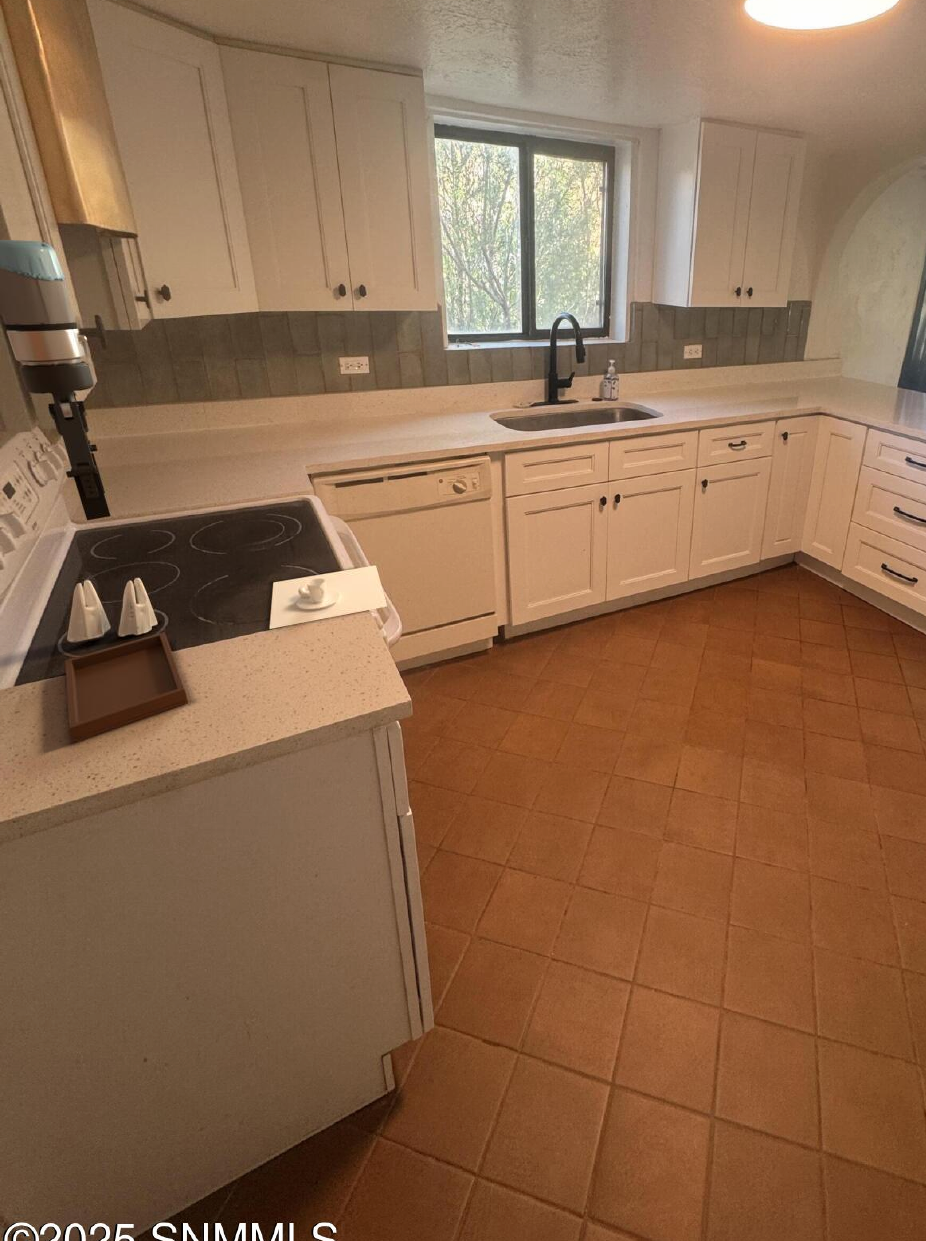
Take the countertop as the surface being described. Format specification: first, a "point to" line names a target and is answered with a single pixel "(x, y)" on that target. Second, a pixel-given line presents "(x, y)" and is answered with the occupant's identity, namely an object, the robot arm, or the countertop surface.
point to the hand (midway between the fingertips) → (96, 505)
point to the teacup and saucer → (326, 596)
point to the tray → (121, 686)
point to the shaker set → (92, 619)
